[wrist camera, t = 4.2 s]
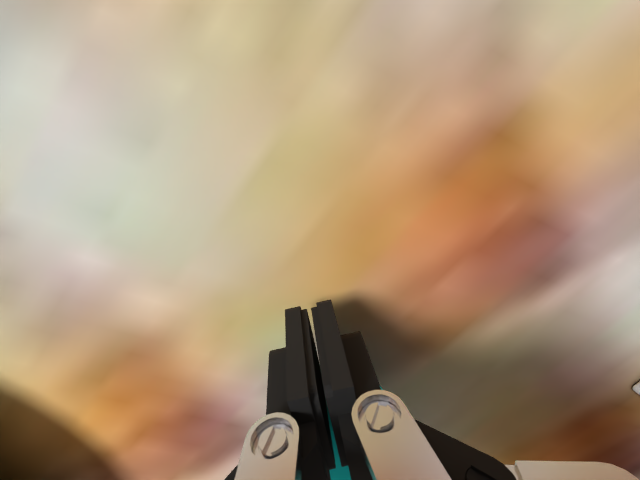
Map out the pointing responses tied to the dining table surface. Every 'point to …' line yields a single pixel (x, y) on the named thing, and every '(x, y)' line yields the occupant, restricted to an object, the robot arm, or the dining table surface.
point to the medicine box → (637, 388)
